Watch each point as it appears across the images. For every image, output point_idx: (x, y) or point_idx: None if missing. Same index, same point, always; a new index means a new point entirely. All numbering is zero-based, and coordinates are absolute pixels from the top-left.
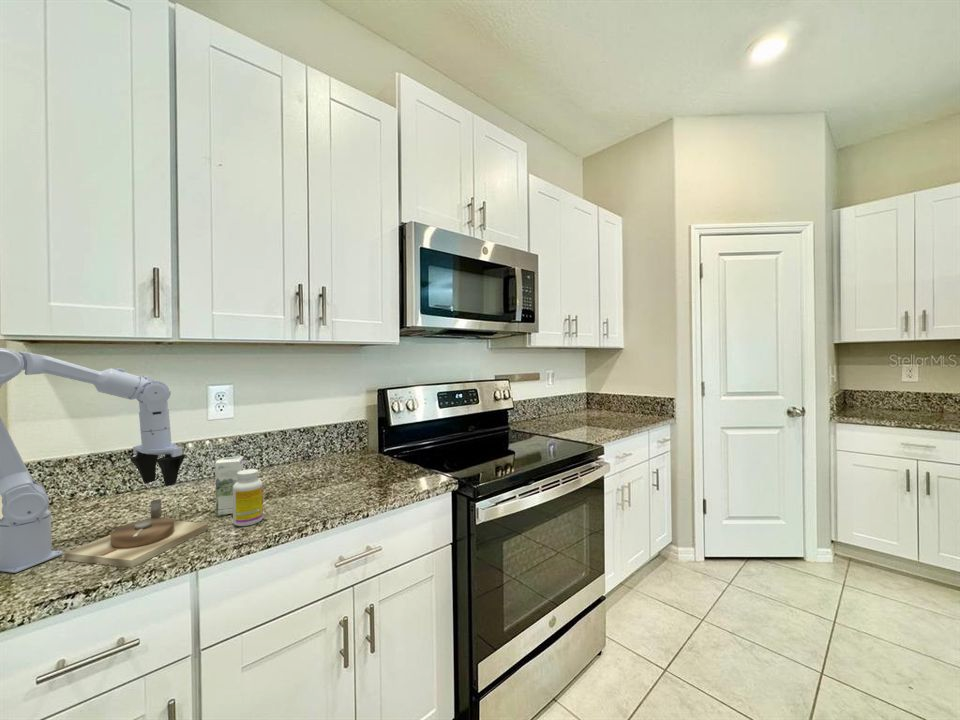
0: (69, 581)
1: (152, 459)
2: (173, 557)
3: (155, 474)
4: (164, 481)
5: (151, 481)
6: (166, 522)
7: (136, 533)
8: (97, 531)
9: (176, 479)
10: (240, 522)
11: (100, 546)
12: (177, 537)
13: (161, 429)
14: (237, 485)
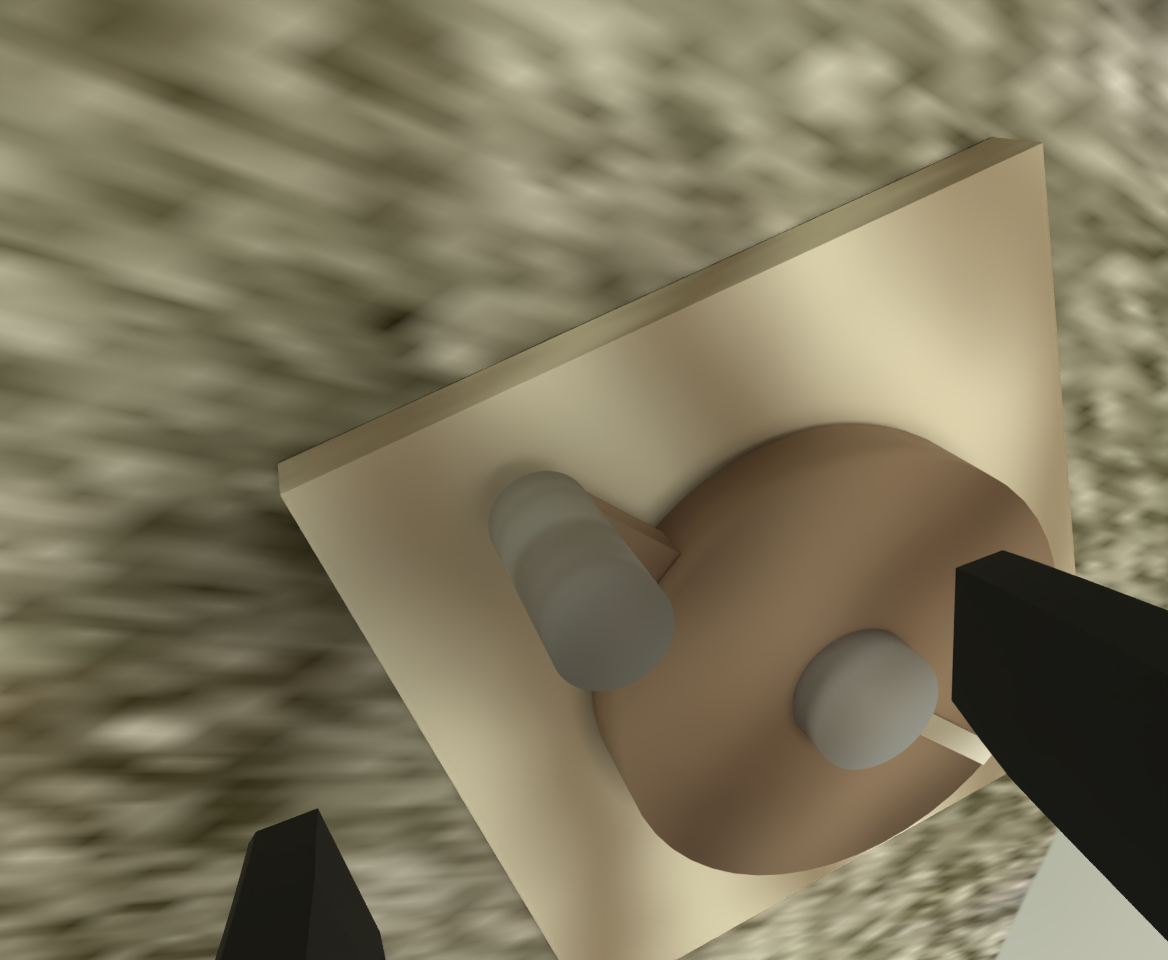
0: (904, 907)
1: None
2: (1157, 510)
3: (309, 933)
4: (1036, 785)
5: (348, 871)
6: (931, 525)
7: (956, 743)
8: (8, 849)
9: (1080, 583)
10: None
11: (683, 856)
12: (1051, 453)
13: None
14: None
